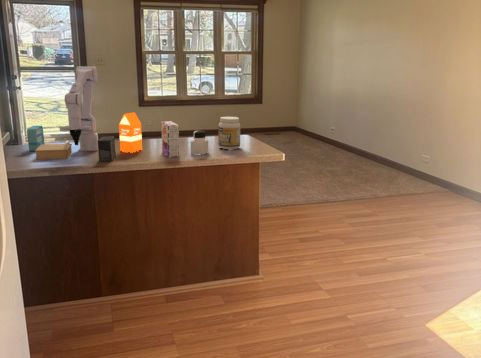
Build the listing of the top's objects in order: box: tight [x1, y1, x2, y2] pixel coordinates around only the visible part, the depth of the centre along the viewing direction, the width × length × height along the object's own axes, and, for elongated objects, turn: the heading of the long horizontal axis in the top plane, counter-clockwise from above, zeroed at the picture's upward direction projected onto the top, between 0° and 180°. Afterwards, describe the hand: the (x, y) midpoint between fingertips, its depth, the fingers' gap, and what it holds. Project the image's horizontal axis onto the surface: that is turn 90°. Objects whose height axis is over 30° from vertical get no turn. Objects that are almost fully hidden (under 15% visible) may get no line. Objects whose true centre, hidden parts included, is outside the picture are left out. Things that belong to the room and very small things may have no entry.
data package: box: [26, 125, 45, 152], centre depth 238 cm, size 12×4×12 cm, turn 7°
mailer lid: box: [34, 140, 73, 153], centre depth 224 cm, size 15×15×3 cm
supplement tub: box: [217, 116, 241, 150], centre depth 248 cm, size 12×12×17 cm
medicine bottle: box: [190, 130, 209, 156], centre depth 234 cm, size 7×7×12 cm
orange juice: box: [118, 112, 143, 154], centre depth 237 cm, size 8×9×20 cm
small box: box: [97, 135, 117, 163], centre depth 219 cm, size 11×6×10 cm, turn 5°
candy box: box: [160, 120, 180, 158], centre depth 230 cm, size 14×6×16 cm, turn 23°
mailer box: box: [35, 146, 73, 161], centre depth 224 cm, size 14×14×4 cm
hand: (76, 144), depth 226 cm, fingers closed
